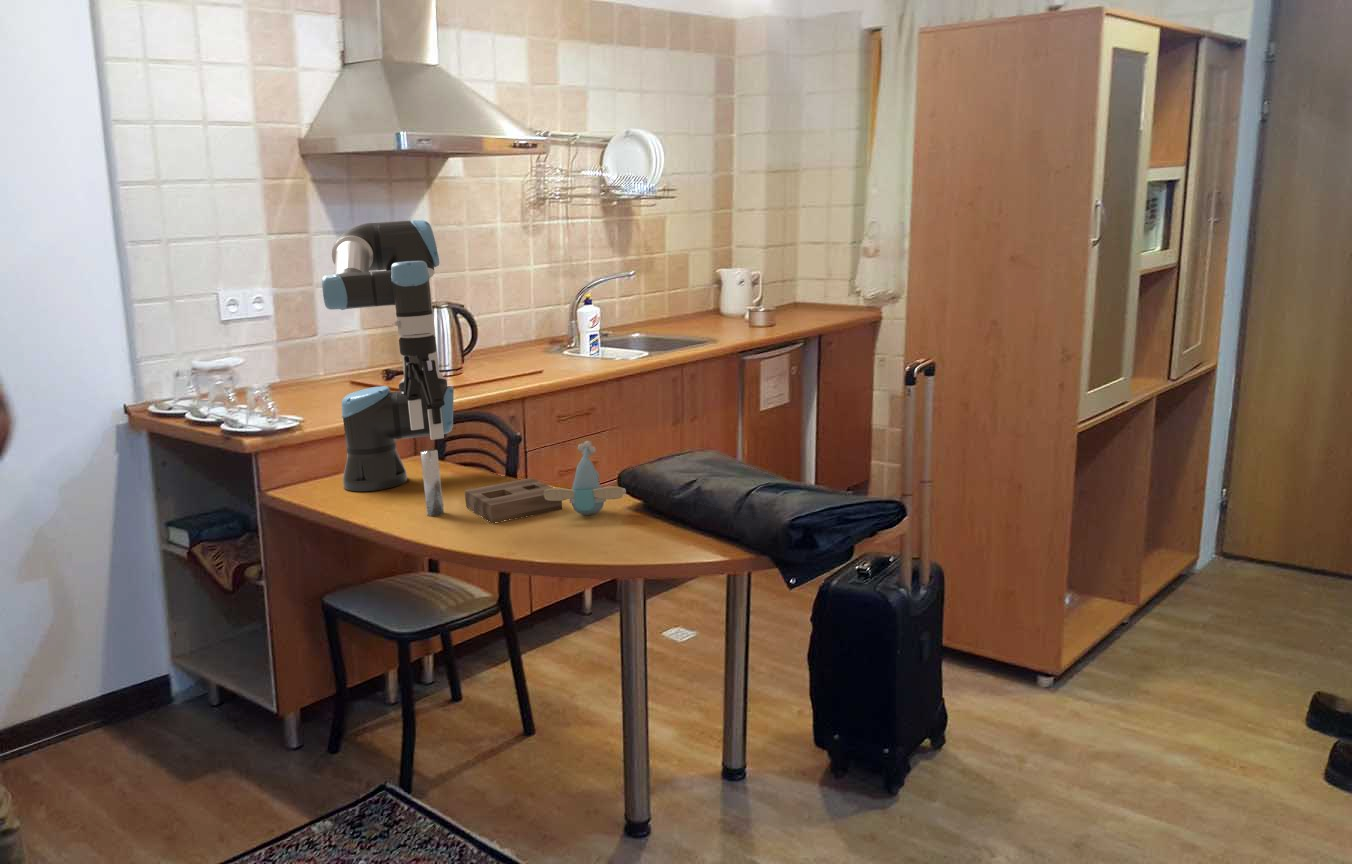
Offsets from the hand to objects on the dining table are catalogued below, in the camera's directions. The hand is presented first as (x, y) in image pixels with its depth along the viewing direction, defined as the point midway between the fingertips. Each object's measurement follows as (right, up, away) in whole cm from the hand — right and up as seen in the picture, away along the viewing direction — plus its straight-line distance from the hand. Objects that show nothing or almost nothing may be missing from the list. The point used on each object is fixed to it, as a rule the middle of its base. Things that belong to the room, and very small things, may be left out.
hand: (427, 434), depth 238 cm
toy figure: (+35, -17, -3) cm, 39 cm away
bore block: (+18, -16, +4) cm, 25 cm away
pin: (+1, -17, +4) cm, 18 cm away
